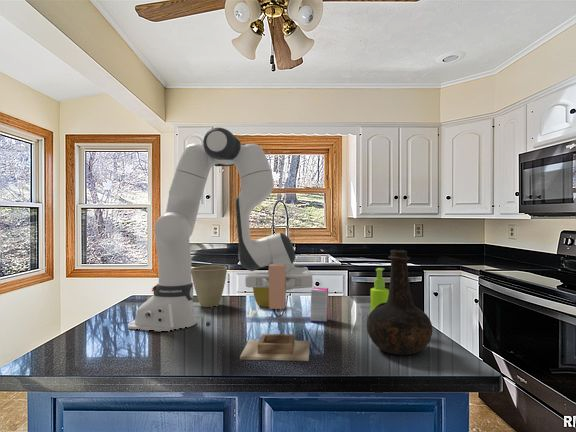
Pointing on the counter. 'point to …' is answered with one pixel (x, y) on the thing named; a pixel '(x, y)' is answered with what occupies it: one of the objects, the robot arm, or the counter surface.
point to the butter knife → (253, 313)
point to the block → (277, 286)
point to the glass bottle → (399, 315)
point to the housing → (276, 348)
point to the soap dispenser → (378, 290)
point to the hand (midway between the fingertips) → (277, 284)
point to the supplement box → (319, 305)
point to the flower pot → (261, 296)
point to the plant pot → (209, 284)
